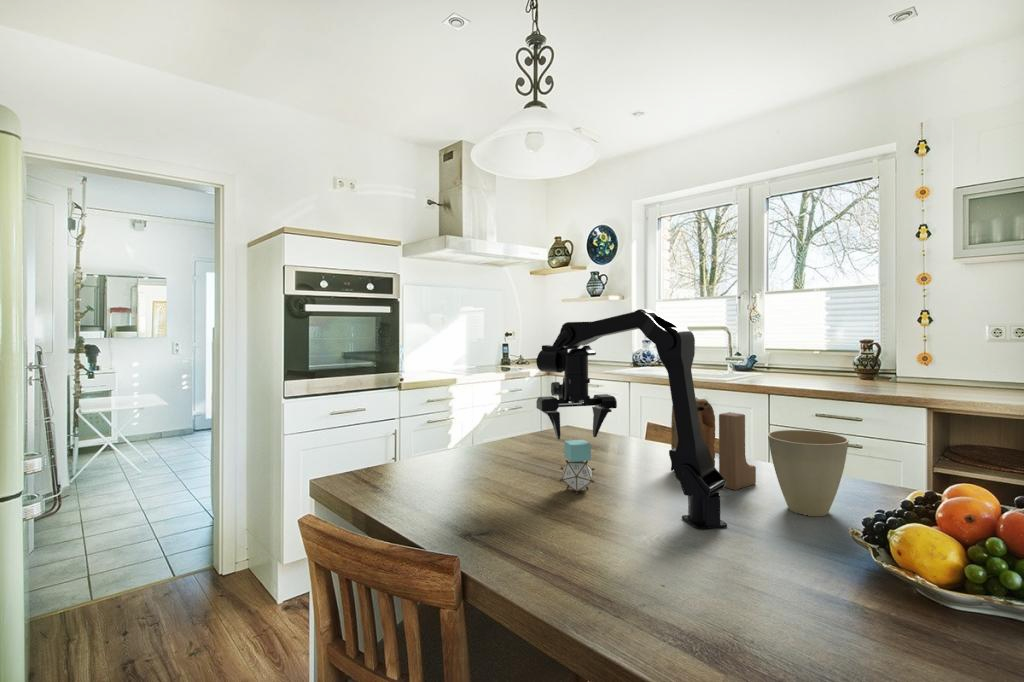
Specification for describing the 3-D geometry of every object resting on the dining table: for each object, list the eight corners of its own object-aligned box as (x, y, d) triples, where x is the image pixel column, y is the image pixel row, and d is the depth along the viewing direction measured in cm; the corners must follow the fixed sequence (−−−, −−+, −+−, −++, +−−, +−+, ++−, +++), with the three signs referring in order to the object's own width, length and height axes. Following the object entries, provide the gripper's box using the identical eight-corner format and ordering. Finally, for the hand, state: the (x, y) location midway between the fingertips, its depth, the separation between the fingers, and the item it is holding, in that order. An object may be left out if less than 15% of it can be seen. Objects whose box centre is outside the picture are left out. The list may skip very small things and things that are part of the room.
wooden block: (739, 479, 132) (739, 410, 131) (756, 484, 128) (756, 412, 127) (718, 486, 127) (718, 413, 126) (735, 490, 123) (734, 416, 122)
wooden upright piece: (668, 470, 141) (668, 398, 141) (684, 465, 146) (684, 395, 145) (704, 479, 132) (703, 402, 132) (720, 473, 137) (719, 399, 137)
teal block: (590, 460, 122) (590, 443, 122) (570, 461, 121) (570, 445, 121) (583, 455, 127) (583, 439, 127) (564, 456, 126) (564, 440, 126)
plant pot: (804, 495, 119) (804, 427, 118) (866, 518, 104) (866, 440, 104) (752, 503, 114) (752, 432, 114) (809, 527, 100) (809, 446, 99)
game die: (574, 503, 126) (575, 464, 132) (602, 497, 121) (602, 457, 127) (550, 492, 121) (552, 452, 127) (579, 486, 116) (579, 445, 122)
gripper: (600, 370, 133) (600, 429, 134) (530, 372, 130) (531, 433, 130) (617, 373, 122) (617, 438, 123) (542, 376, 119) (542, 443, 119)
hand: (576, 438), depth 124 cm, fingers open, 9 cm apart
